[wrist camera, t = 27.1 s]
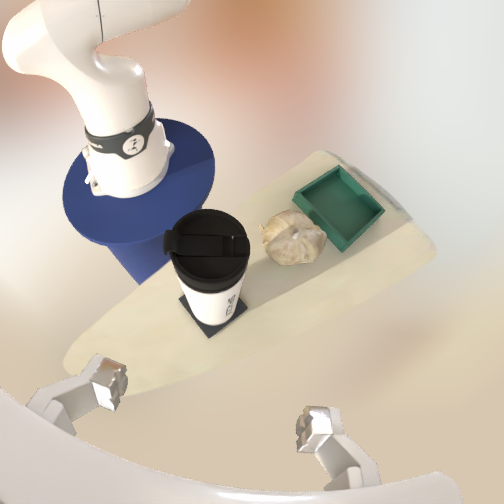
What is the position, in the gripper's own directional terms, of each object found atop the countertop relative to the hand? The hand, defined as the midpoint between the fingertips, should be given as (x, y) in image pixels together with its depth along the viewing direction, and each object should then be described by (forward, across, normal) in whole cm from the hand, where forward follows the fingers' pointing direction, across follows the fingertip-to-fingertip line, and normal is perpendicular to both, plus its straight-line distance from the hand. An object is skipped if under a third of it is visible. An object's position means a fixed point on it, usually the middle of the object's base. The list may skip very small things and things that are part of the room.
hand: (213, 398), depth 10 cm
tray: (+41, -15, -4) cm, 44 cm away
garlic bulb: (+33, -6, +4) cm, 34 cm away
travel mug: (+25, +3, +11) cm, 28 cm away
